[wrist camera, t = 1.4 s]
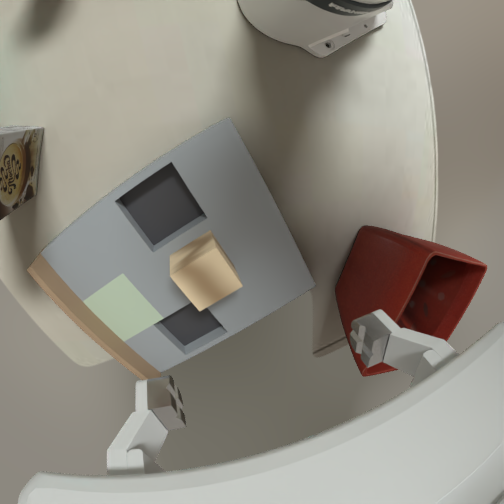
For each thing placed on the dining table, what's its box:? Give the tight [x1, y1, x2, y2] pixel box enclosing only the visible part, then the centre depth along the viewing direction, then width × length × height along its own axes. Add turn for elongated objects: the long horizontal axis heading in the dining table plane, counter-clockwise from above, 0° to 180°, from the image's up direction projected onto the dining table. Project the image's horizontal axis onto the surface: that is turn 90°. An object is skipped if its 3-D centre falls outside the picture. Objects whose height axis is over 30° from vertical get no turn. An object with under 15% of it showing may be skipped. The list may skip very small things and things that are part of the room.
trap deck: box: [27, 118, 316, 380], centre depth 36 cm, size 30×27×6 cm
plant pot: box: [335, 225, 487, 376], centre depth 40 cm, size 19×19×17 cm
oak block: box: [170, 230, 243, 311], centre depth 34 cm, size 6×6×5 cm
